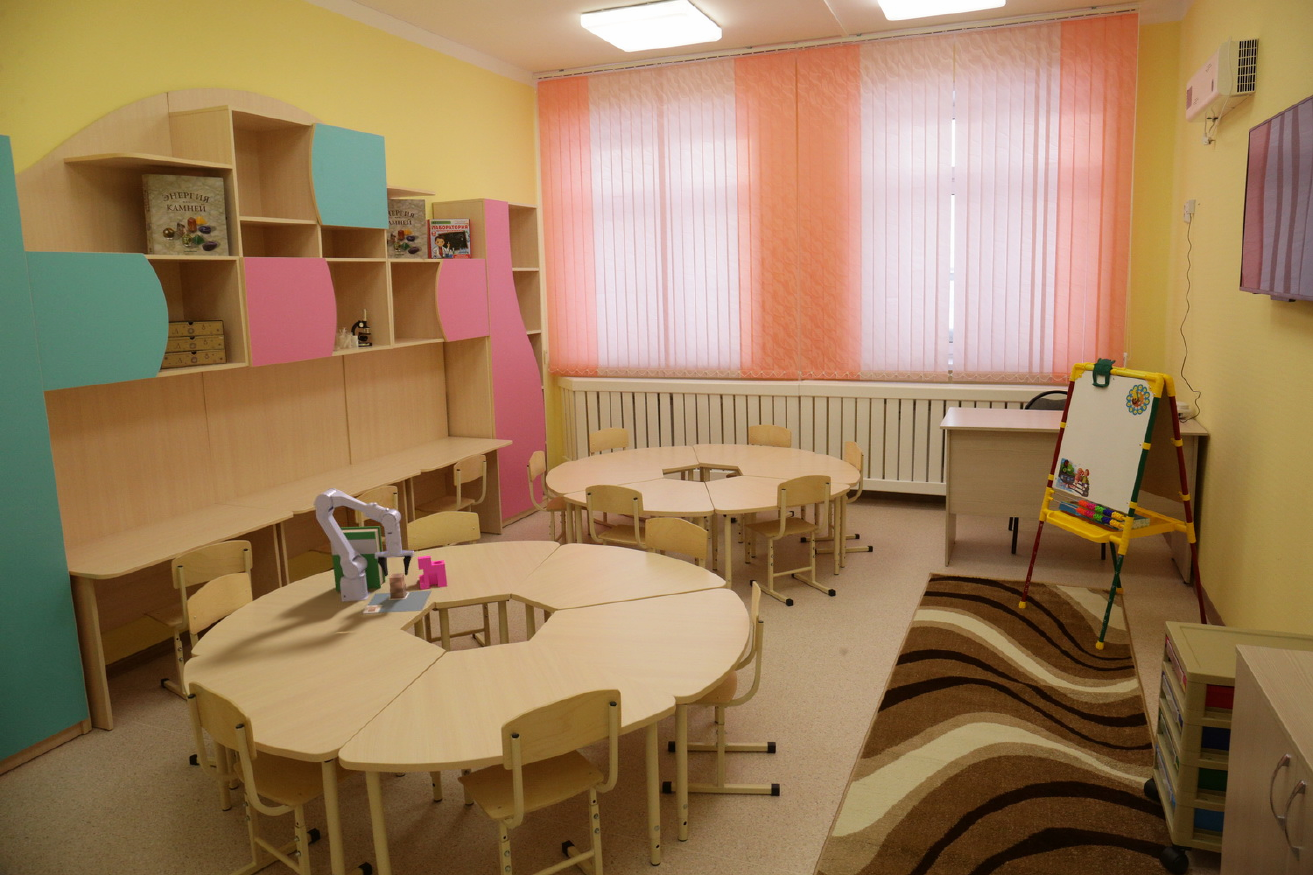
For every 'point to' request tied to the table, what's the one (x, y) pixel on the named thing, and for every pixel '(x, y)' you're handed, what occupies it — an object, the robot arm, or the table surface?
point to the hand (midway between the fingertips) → (396, 575)
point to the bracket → (431, 572)
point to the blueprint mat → (397, 602)
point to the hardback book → (362, 554)
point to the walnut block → (398, 593)
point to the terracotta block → (397, 581)
